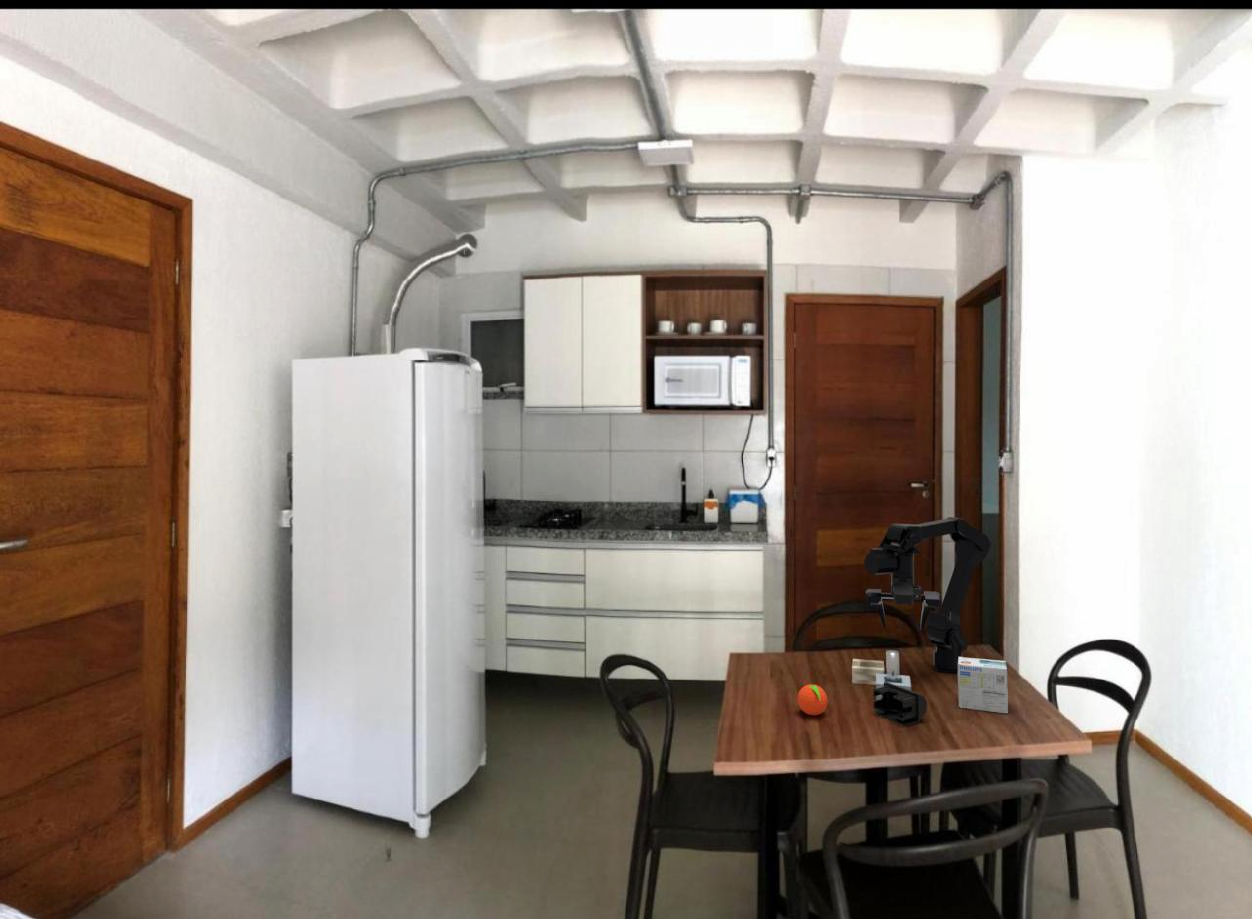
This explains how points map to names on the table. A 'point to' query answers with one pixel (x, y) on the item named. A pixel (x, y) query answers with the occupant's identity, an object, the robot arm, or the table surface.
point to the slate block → (883, 678)
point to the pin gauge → (892, 666)
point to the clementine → (812, 699)
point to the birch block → (866, 671)
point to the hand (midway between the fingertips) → (903, 629)
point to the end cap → (899, 704)
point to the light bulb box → (982, 684)
